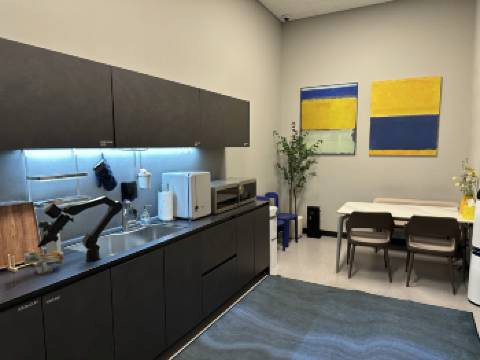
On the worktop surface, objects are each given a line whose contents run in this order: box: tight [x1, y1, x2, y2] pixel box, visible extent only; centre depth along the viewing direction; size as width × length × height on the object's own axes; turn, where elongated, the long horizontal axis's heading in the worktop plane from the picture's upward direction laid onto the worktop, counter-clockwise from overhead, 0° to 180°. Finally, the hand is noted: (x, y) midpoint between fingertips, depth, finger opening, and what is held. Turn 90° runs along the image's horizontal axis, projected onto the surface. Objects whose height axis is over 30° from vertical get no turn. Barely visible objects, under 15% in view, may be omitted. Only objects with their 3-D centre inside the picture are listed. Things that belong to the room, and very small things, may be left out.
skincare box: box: [45, 233, 62, 254], centre depth 202 cm, size 8×6×15 cm
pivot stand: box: [35, 261, 54, 275], centre depth 183 cm, size 7×11×6 cm, turn 37°
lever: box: [23, 250, 65, 265], centre depth 183 cm, size 18×7×6 cm, turn 127°
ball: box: [50, 251, 59, 256], centre depth 186 cm, size 4×4×4 cm
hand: (38, 247), depth 181 cm, fingers closed
